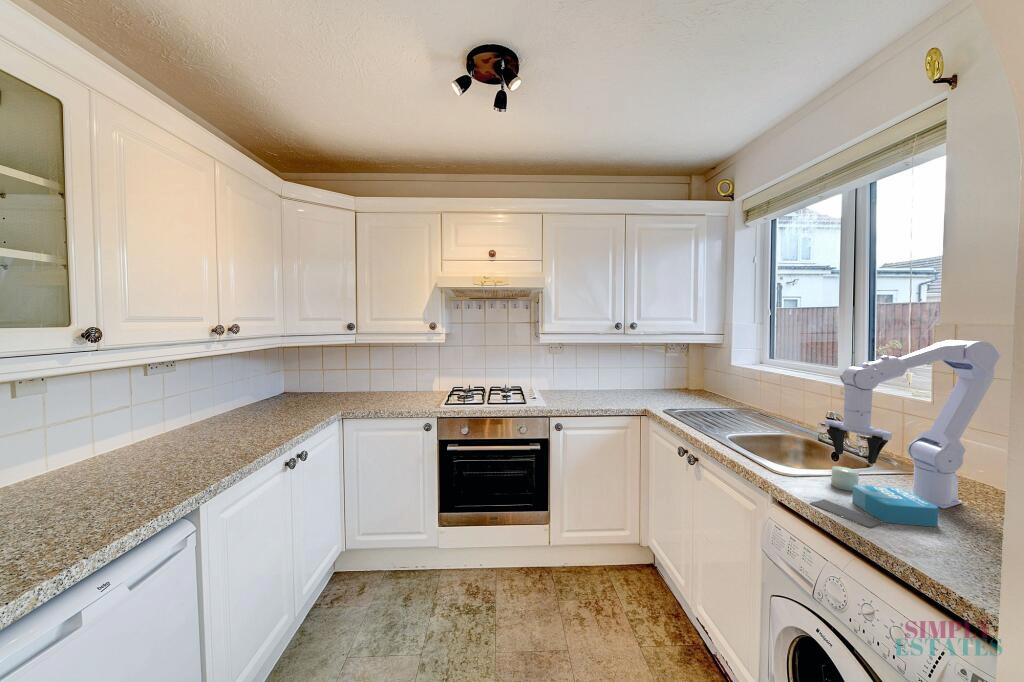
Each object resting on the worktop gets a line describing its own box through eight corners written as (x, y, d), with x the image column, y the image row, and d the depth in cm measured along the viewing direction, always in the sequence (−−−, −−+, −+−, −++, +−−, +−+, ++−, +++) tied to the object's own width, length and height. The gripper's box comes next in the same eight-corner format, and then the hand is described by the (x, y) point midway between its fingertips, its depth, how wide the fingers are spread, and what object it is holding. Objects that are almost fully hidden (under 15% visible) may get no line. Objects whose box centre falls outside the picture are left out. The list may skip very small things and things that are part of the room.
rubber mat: (824, 500, 105) (824, 499, 105) (884, 523, 93) (884, 522, 93) (809, 504, 103) (809, 502, 103) (869, 528, 91) (869, 526, 91)
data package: (850, 484, 105) (901, 487, 103) (849, 500, 105) (900, 504, 103) (884, 504, 93) (942, 508, 91) (883, 522, 94) (941, 527, 92)
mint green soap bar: (837, 481, 118) (838, 465, 118) (862, 489, 113) (863, 472, 113) (826, 484, 116) (827, 468, 116) (851, 492, 110) (852, 475, 110)
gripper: (819, 406, 113) (817, 452, 114) (882, 417, 100) (879, 469, 100) (834, 404, 116) (832, 449, 117) (897, 415, 103) (894, 465, 103)
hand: (855, 458), depth 109 cm, fingers open, 7 cm apart
